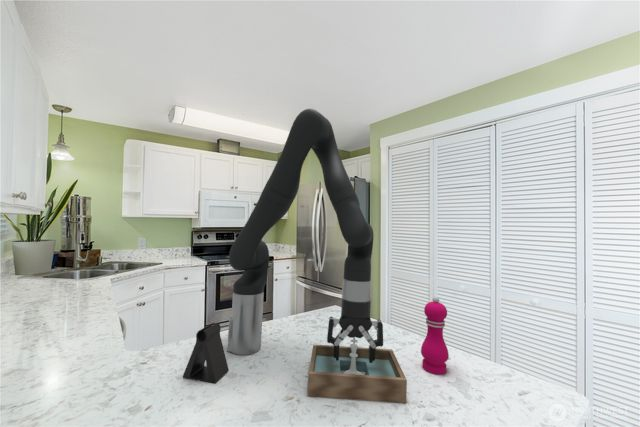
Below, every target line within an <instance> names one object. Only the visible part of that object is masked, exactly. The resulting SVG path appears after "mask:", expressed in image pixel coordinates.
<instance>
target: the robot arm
mask: <svg viewBox="0 0 640 427" xmlns="http://www.w3.org/2000/svg"><path fill="white" fill-rule="evenodd" d="M311 150H312V151H313V153H314V155H315V156H316V157H317V159H318V161H319V164H320V167H321V170H322V175H323V180H324V181H323V183H324V187H325V190H326V193H327V196H328V198H329V201H330V203H331V205H332V207H333V210H334V213H335V214H336V217H337V221H338V225H339V229H340V233H341V235H342V237H343V239H344V241H345V242H346V244H347V255H346V258H345V260H344V264H343V279H342V288H341V310H340V312H341V313H340V314H341V315H340V318H335V317H333V316H329V318H328V324H327V325H328V326H327V335H326V342H327V343H328V344H332V346H334V352H333V356H334V358H336V361H339V346H340V344H341V343H342V342H343V341H344V340H345V339H346V337H348V338H351V339H353V337H354V338H358V339H362V338H364V339H365V341H366V342H367V343H368V344H369V345H368V348H369V363H372V362H373V361H374V360H375V349H376V348H379V347H380V348H381V347H383V346H384V325H383V321H382V320H381V319H377V320H371V313H372V311H371V307H372V306H371V304H372V303H371V302H372V284H371V282H372V280H371V279H372V255H373V246H374V236H375V235H374V230H373V227H372V226H371V224H370V223H369V222H367V221H366V218H365V217H364V216H365V215H363V214H364V213H363V212H362V210H361V206H360V205H361V204H360V203H361V202H360V201H359V198H358V195H357V194H356V193H357V192H356V190H355V189H354V186H353V184H352V182H351V180H350V177H349V175H348V173H347V171H346V169H345V166H344V163H343V161H342V157H341V155H340V152H339V148H338V144H337V141H336V136H335V132H334V130H333V125H332V123H331V122H330V121H329V119H328V118H327V117H325V116H324V115H323V114H322V113H320V112H319V111H318V110H316V109H314V108H306V109H304V110H302V111H300V112H299V114H297V116H296V117H295V119H294V121H293V123H292V125H291V128H290V130H289V133H288V136H287V138H286V141H285V144H284V146H283V149H282V151H281V154H280V155H279V157H278V159H277V161H276V164H275V166H274V168H273V169H272V170H273V171H272V172H271V174H270V176H269V178H268V179H267V182H266V183H265V186H264V187H263V189H262V192H260V193H261V194H260V195H259V198H258V201H257V203H256V204H255V206H254V208H253V209H252V212H251V214H250V216H249V217H248V219H247V221H246V223H245V224H244V226H243V227H242V229H241V231H240V232H239V233H238V235H237V237H236V238H235V240H234V242H233V243H232V245H231V247H230V249H229V254H228V261H229V264H230V266H231V268H232V269H234V270H235V271H238V272H239V271H240V272H241V271H243V273H242V275H241V276H240V278H238V279H237V280H235V282H234V283H233V286H232V288H233V289H232V300H231V301H232V302H231V304H232V305H231V306H232V308H231V317H230V318H229V319H228V333H227V349H226V350H227V352H229V353H232V354H235V355H240V356H241V355H242V356H243V355H244V356H246V355H248V356H249V355H252V354H255V353H257V352H259V351H260V350H261V347H262V335H263V334H262V331H263V313H264V312H263V311H264V294H265V292H264V290H265V286H266V285H267V284H266V283H267V280H268V273H269V263H270V252H269V247H268V245H267V243H266V242H265V241H264V240H263V238H264V237H265V235H266V234H267V233H268V232H269V231H270V230H271V229H272V228H273V226H275V225H276V224H277V223H278V222H279V221H281V219H283V217H284V216H285V215H286V214H287V213H288V212H289V210H290V208H291V206H292V205H293V202H294V201H295V199H296V196H297V195H298V192H299V188H300V183H301V175H302V174H301V173H302V169H303V165H304V163H305V160H306V159H307V156H308V154H309V152H310V151H311ZM338 324H339V326H340V328H341V329H340V330H339V332H338V333H337V335H336V336H335V337H334V336H333V332H334V328H336V327H337V326H338ZM372 327H373V328H374V330H375V331H376V339H373V337H372V336H371V334H370V332H369V331H370V330H371V329H372Z"/></svg>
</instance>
